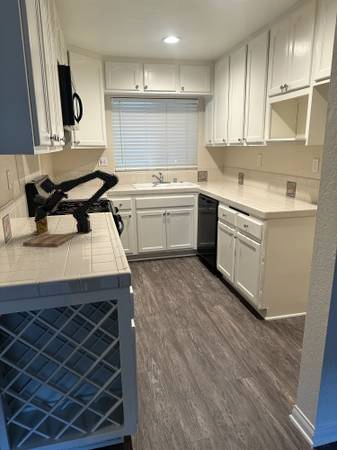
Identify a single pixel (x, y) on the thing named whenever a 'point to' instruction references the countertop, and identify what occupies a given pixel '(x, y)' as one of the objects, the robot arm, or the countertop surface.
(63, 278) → the countertop surface
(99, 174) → the robot arm
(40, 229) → the condiment
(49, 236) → the walnut board
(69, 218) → the countertop surface
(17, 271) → the countertop surface
